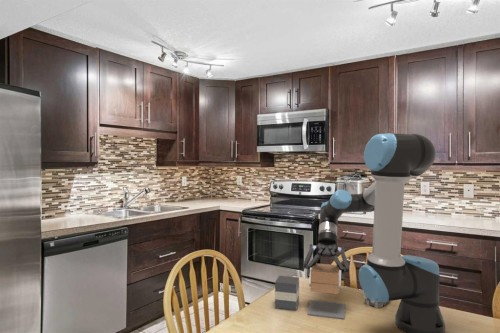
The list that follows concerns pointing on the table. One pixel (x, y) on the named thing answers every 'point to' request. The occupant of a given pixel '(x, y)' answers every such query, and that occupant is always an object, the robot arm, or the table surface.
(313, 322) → the table surface
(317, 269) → the wooden block stack
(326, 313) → the rubber mat
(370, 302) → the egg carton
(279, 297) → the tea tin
